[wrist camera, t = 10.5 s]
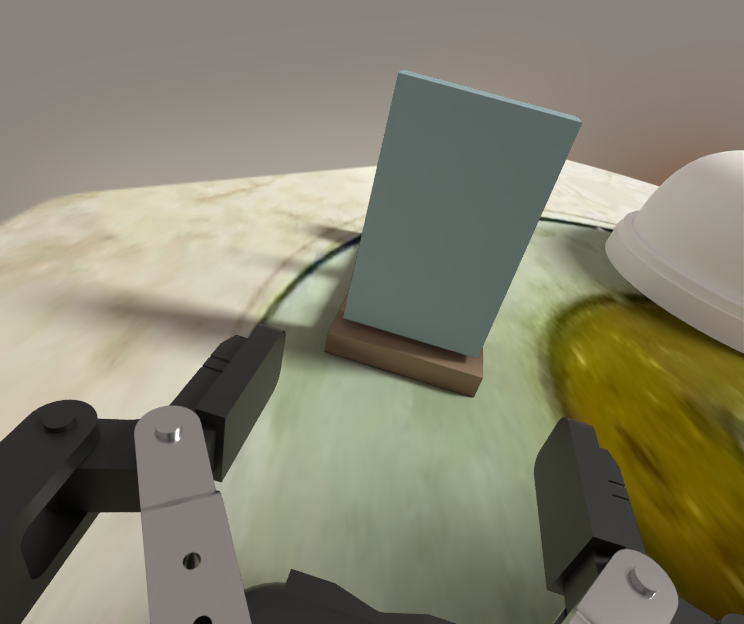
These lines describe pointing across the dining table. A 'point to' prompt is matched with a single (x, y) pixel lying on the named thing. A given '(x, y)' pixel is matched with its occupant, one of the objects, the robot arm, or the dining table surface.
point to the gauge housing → (404, 355)
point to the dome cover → (691, 246)
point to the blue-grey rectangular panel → (453, 209)
